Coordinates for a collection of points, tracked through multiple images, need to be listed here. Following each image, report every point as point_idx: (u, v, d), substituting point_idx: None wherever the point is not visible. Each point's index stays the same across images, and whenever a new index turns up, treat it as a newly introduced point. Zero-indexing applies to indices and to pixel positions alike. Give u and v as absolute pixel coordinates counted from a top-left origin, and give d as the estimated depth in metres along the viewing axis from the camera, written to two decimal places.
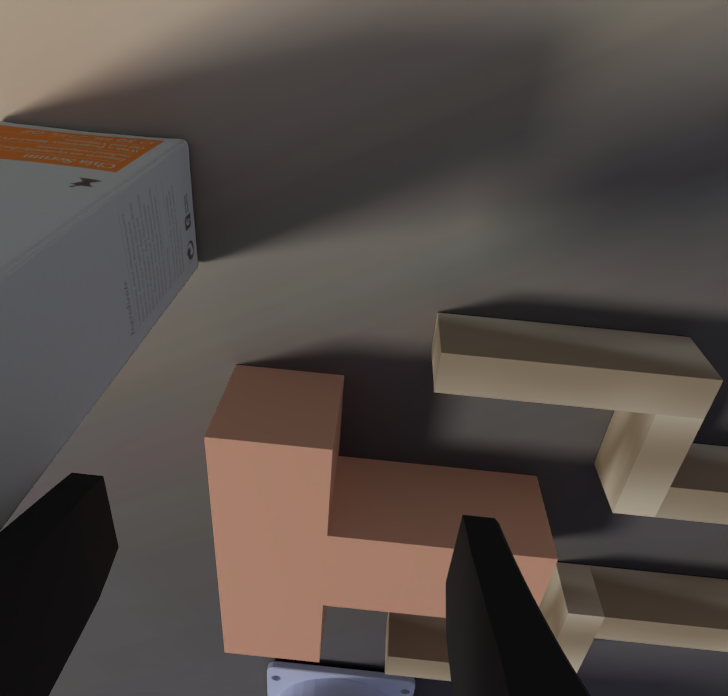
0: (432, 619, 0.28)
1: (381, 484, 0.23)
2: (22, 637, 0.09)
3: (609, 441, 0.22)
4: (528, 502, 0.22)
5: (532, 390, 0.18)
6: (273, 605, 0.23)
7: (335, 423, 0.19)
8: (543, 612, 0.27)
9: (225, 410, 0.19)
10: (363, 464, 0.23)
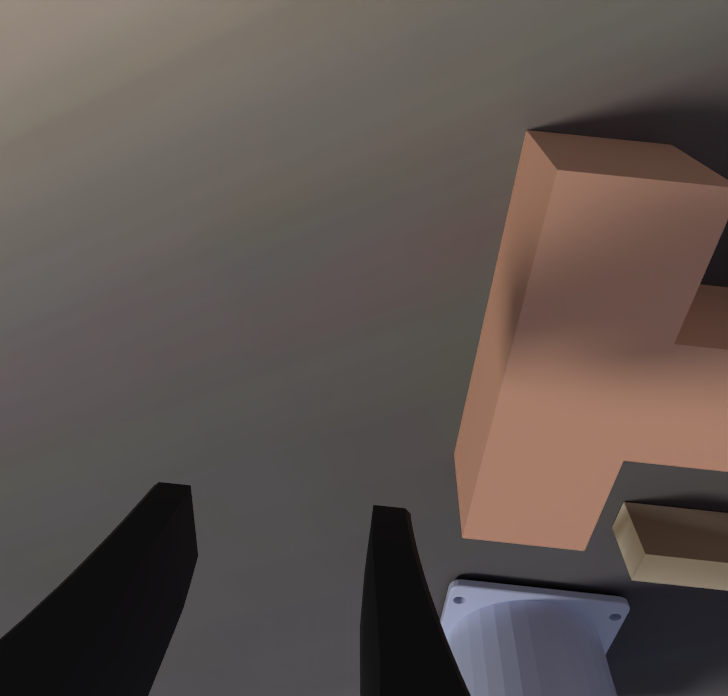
0: (681, 516, 0.23)
1: (700, 302, 0.17)
2: (128, 649, 0.09)
3: None
4: None
5: None
6: (555, 462, 0.17)
7: (713, 172, 0.14)
8: None
9: (558, 155, 0.14)
10: None
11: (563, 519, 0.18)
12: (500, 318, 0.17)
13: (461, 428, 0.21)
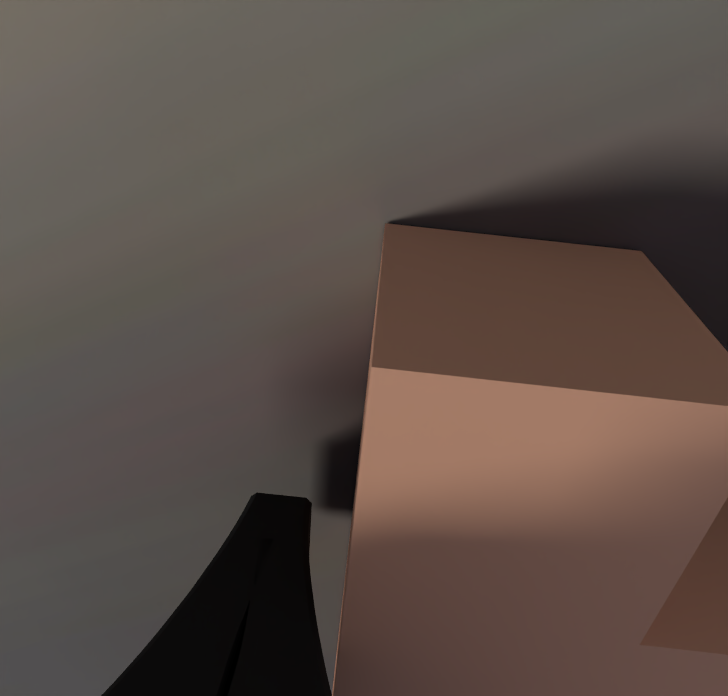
0: None
1: None
2: None
3: None
4: None
5: None
6: None
7: (717, 343, 0.07)
8: None
9: (403, 305, 0.07)
10: None
11: None
12: (350, 538, 0.10)
13: None
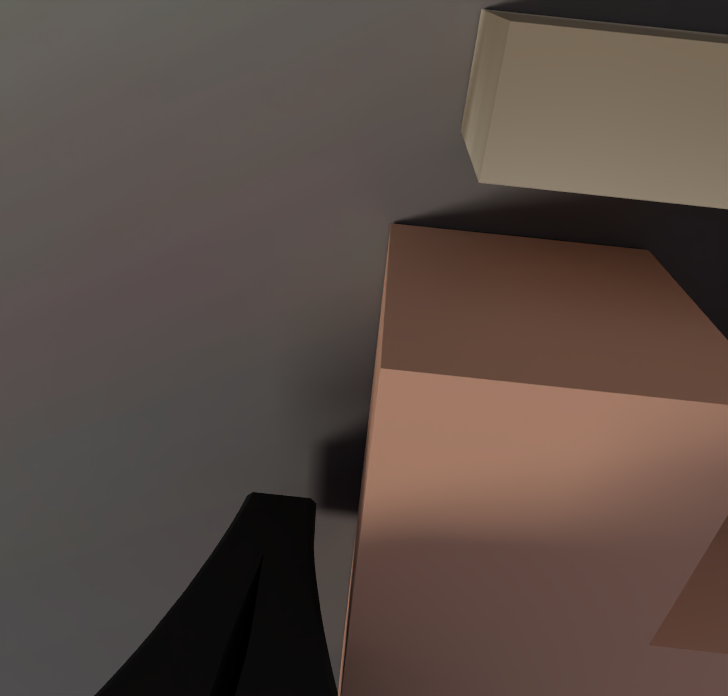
0: None
1: None
2: (242, 661, 0.09)
3: None
4: None
5: None
6: None
7: (726, 343, 0.07)
8: None
9: (411, 305, 0.07)
10: None
11: None
12: None
13: None
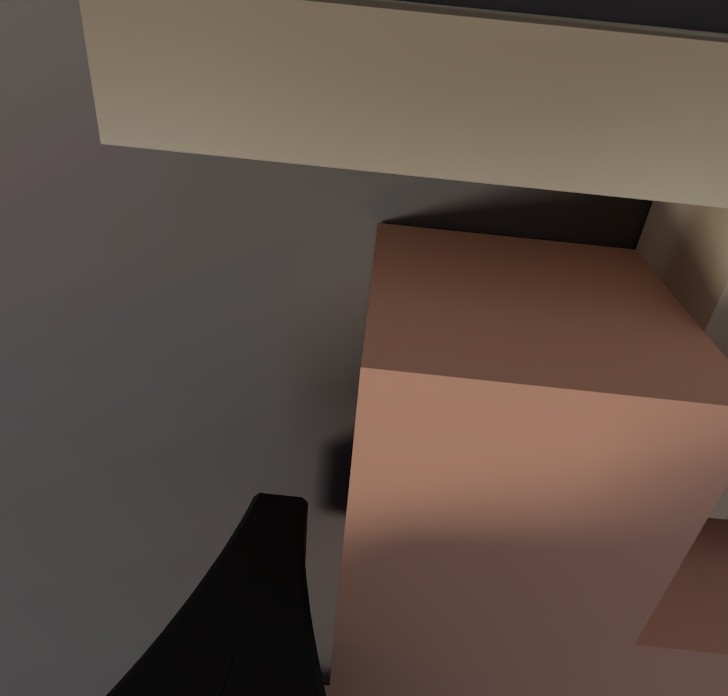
0: None
1: None
2: None
3: None
4: None
5: (386, 128, 0.06)
6: None
7: (709, 342, 0.07)
8: None
9: (394, 304, 0.07)
10: None
11: None
12: None
13: None
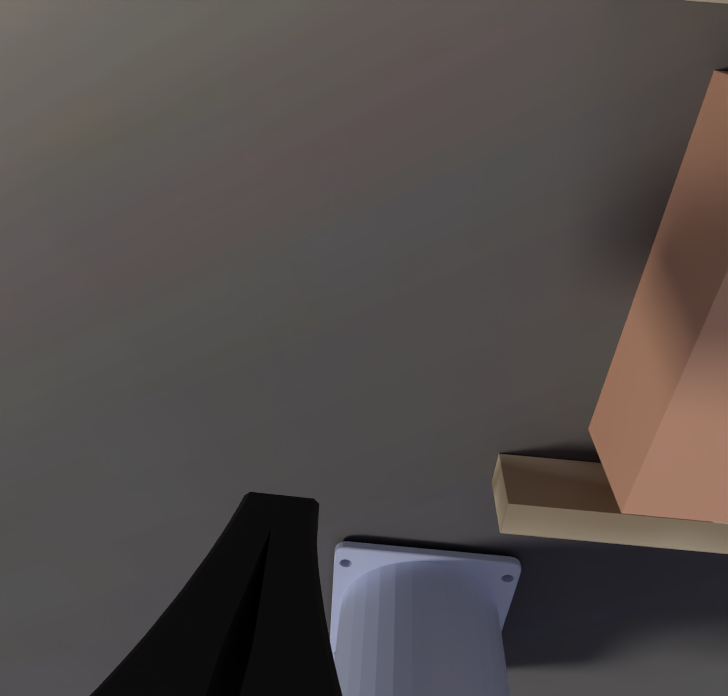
0: (556, 467, 0.22)
1: None
2: (238, 661, 0.09)
3: None
4: None
5: None
6: None
7: None
8: None
9: None
10: None
11: None
12: (680, 275, 0.16)
13: (602, 400, 0.20)
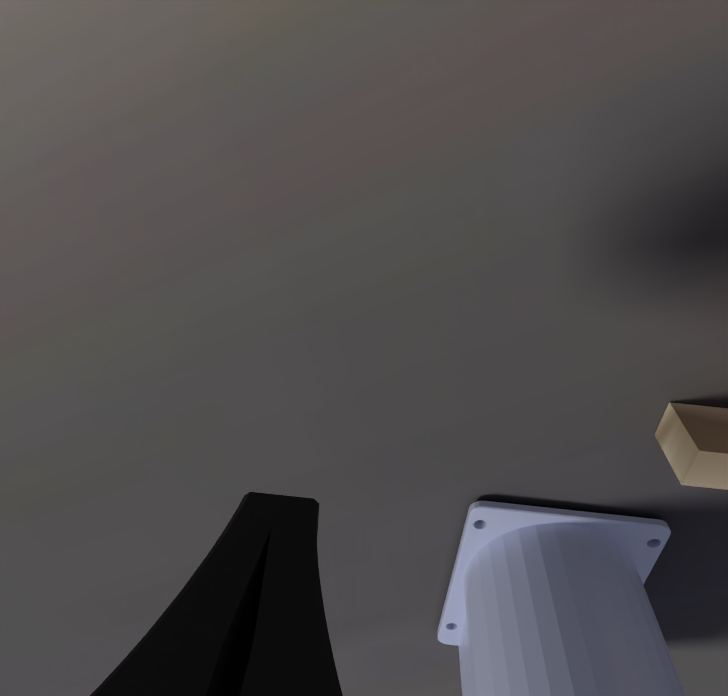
0: None
1: None
2: (239, 661, 0.09)
3: None
4: None
5: None
6: None
7: None
8: None
9: None
10: None
11: None
12: None
13: None
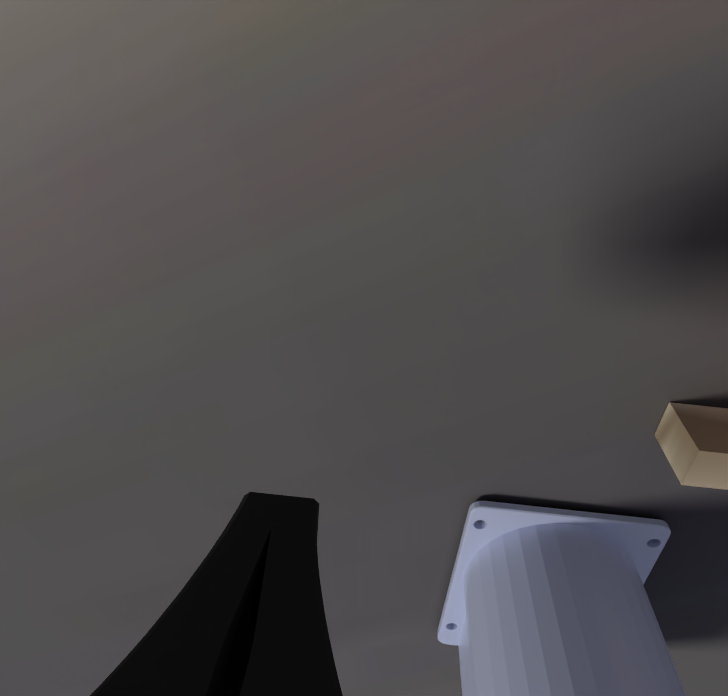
0: None
1: None
2: (239, 661, 0.09)
3: None
4: None
5: None
6: None
7: None
8: None
9: None
10: None
11: None
12: None
13: None
